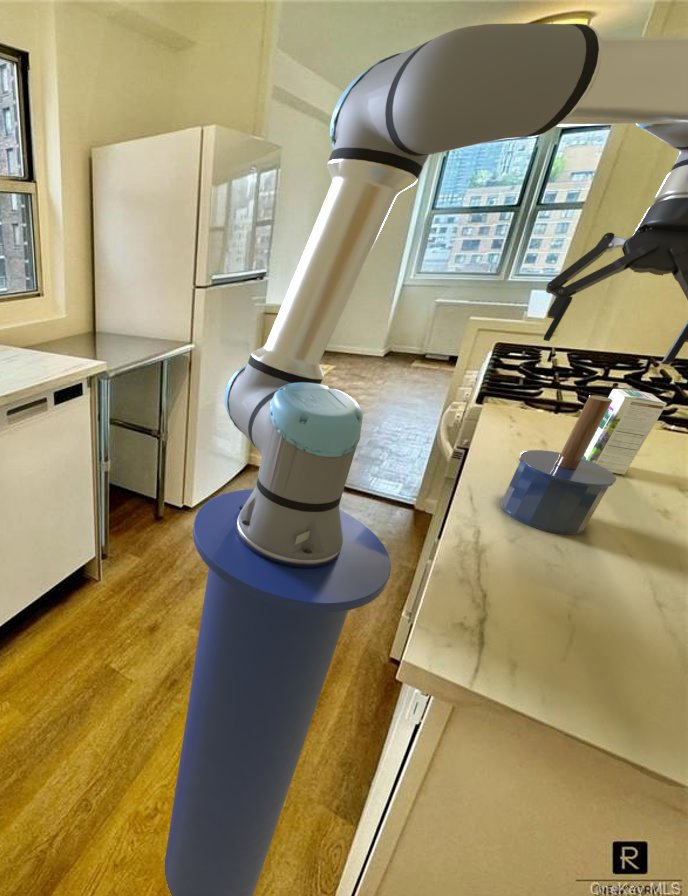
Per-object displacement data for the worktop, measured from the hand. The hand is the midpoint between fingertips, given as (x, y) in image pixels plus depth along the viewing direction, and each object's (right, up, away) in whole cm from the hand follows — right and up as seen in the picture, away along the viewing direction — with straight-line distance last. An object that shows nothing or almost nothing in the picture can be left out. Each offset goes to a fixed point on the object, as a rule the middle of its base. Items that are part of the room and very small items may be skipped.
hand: (603, 350), depth 73 cm
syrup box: (+20, -18, +19) cm, 33 cm away
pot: (-6, -26, +4) cm, 27 cm away
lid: (-6, -18, 0) cm, 19 cm away
